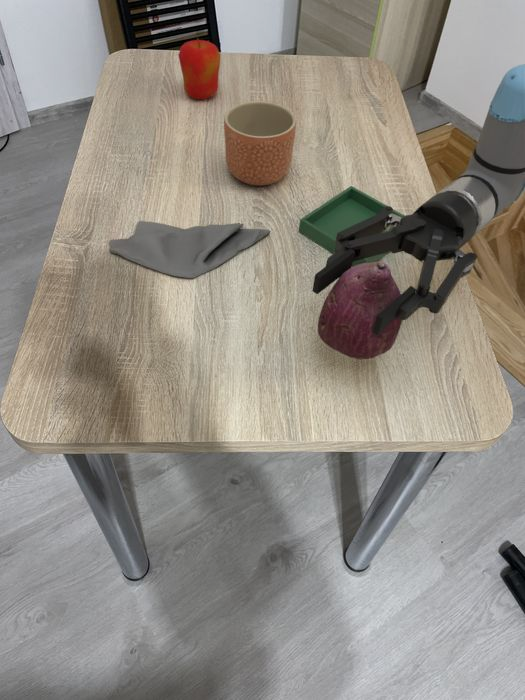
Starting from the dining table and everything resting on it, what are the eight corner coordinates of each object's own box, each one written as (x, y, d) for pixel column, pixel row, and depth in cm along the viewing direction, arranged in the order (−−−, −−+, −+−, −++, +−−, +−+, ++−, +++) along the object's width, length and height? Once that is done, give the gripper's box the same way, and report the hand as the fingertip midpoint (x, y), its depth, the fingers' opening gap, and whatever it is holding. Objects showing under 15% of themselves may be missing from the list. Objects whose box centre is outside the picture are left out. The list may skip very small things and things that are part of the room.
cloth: (100, 277, 82) (97, 266, 80) (115, 219, 90) (113, 208, 89) (271, 281, 83) (271, 271, 81) (269, 224, 91) (270, 213, 90)
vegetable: (387, 376, 68) (437, 325, 55) (308, 357, 68) (339, 301, 54) (396, 305, 73) (444, 242, 59) (322, 286, 72) (353, 219, 59)
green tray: (412, 234, 91) (416, 221, 89) (363, 272, 85) (366, 260, 83) (348, 197, 97) (351, 185, 95) (298, 231, 91) (300, 219, 88)
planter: (291, 157, 104) (296, 101, 96) (291, 196, 96) (296, 139, 88) (227, 153, 104) (226, 98, 95) (222, 192, 96) (221, 135, 88)
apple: (197, 109, 114) (194, 50, 105) (173, 93, 118) (168, 35, 108) (228, 97, 118) (228, 39, 108) (204, 82, 121) (202, 25, 112)
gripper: (512, 278, 70) (414, 378, 59) (382, 205, 78) (275, 281, 68) (538, 232, 64) (434, 333, 53) (394, 159, 73) (279, 234, 62)
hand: (345, 304), depth 60 cm, fingers closed on vegetable, 8 cm apart
